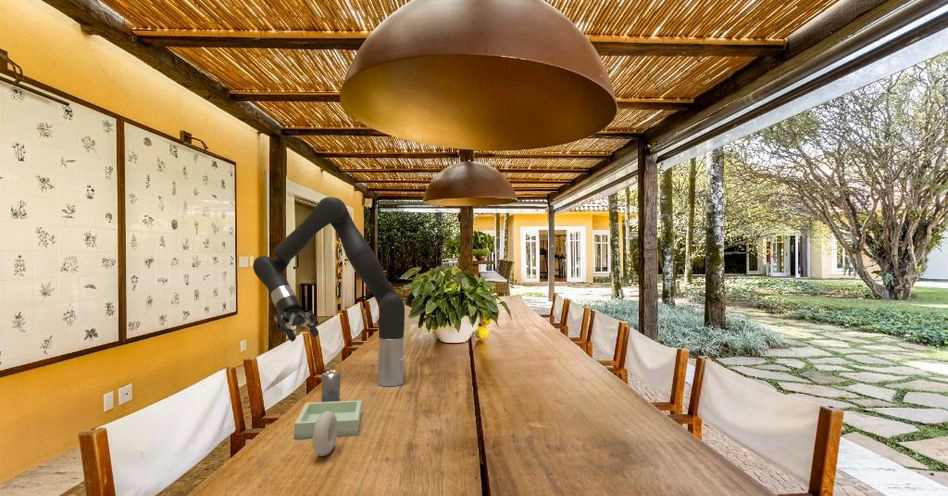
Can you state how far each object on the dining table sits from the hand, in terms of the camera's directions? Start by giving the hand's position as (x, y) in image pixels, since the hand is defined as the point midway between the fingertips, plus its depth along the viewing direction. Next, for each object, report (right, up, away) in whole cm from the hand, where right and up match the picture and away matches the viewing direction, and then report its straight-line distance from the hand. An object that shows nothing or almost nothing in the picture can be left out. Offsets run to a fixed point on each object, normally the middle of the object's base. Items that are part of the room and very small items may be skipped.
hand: (305, 338), depth 146 cm
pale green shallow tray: (+16, -20, -24) cm, 35 cm away
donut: (+21, -20, -41) cm, 50 cm away
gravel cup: (+11, -20, -8) cm, 24 cm away
